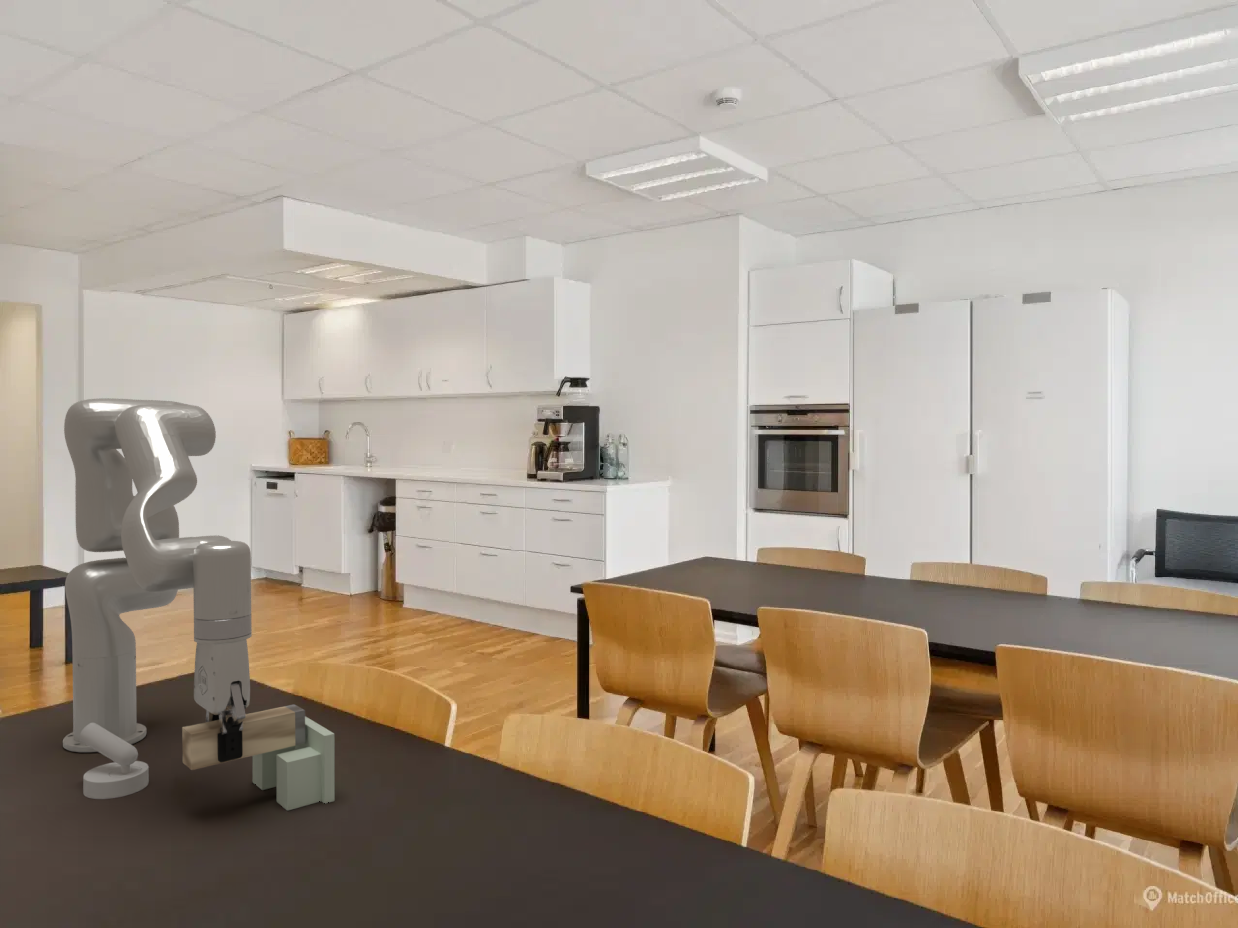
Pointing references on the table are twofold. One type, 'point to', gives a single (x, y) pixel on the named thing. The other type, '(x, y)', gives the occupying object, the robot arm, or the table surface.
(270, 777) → the sage panel with pillars
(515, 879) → the table surface
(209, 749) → the rail
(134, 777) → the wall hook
